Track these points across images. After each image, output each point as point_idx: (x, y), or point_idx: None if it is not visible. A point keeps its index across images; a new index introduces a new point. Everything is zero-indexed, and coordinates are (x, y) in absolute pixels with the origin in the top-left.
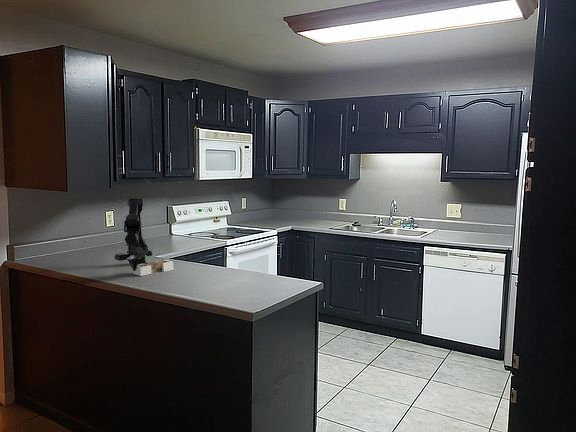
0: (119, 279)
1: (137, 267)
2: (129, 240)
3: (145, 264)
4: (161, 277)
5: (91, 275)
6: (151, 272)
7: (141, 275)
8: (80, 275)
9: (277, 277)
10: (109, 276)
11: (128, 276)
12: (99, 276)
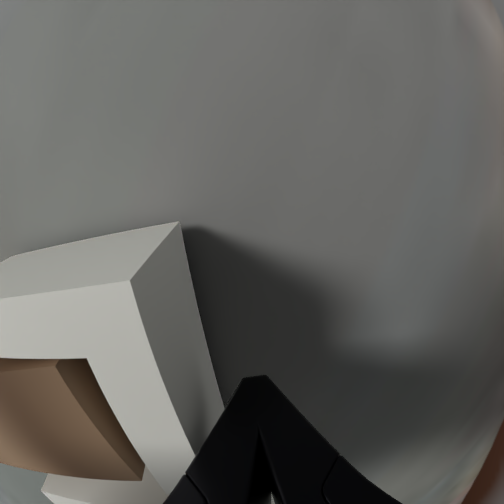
0: (466, 279)
1: (188, 422)
2: None
3: (17, 454)
4: (10, 10)
5: (449, 483)
6: (1, 262)
7: (169, 223)
8: (465, 489)
9: None
10: (429, 441)
11: (325, 367)
12: (453, 457)
